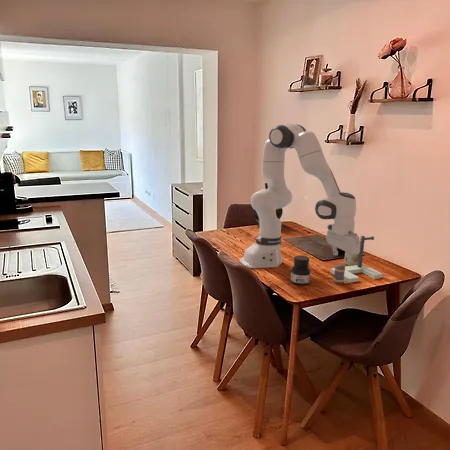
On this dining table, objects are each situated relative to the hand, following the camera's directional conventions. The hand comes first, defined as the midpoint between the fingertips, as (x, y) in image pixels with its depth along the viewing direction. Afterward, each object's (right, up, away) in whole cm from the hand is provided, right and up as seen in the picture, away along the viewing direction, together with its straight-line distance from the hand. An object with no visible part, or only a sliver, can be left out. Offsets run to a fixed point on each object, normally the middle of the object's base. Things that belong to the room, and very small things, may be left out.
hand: (341, 258), depth 190 cm
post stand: (+12, -9, +13) cm, 20 cm away
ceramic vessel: (-24, +15, +102) cm, 106 cm away
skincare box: (+13, -5, +28) cm, 32 cm away
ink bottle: (-19, -12, +3) cm, 22 cm away
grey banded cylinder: (-1, -12, +3) cm, 12 cm away
